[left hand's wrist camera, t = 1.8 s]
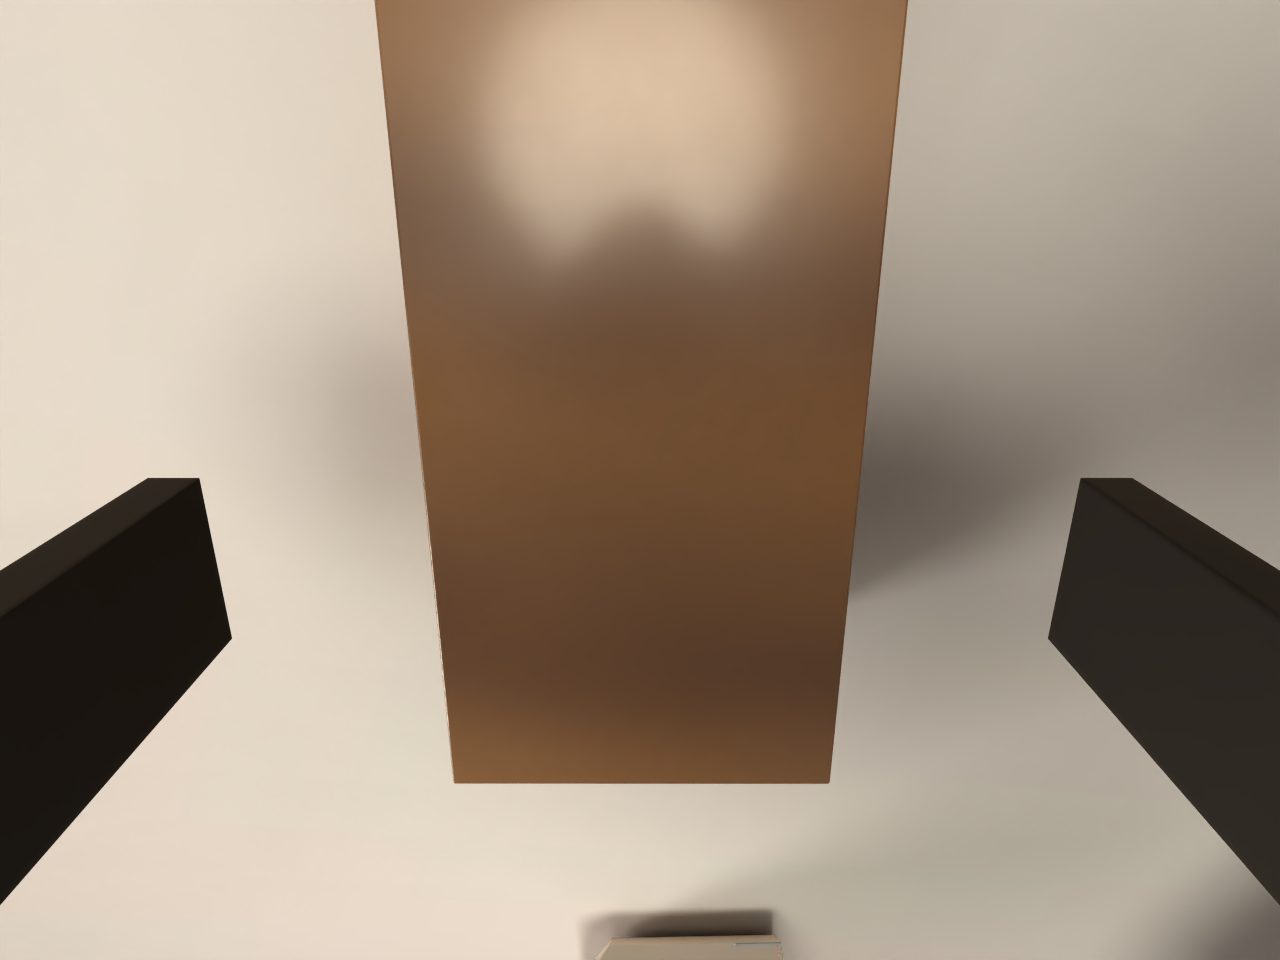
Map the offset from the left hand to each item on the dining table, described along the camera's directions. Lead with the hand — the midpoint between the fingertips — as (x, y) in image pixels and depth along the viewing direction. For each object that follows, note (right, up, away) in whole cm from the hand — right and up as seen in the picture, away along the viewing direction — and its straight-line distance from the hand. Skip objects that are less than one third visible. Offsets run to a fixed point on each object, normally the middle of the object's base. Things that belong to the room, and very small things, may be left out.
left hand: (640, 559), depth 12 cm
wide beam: (0, +24, +3) cm, 24 cm away
